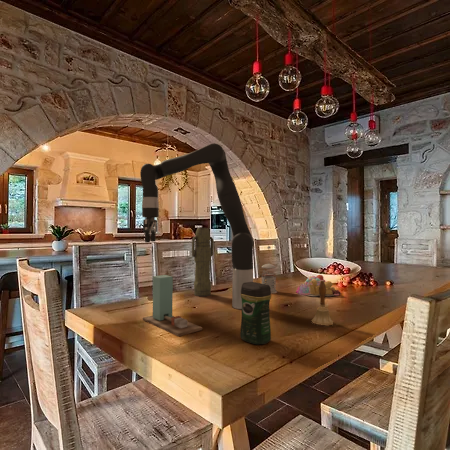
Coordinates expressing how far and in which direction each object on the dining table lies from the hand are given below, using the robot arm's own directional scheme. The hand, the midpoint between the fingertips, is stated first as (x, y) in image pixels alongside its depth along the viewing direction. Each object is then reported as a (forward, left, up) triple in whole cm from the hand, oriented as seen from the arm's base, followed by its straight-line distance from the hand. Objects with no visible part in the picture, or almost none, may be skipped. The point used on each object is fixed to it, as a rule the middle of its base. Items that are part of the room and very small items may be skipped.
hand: (150, 241), depth 152 cm
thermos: (-20, -22, -29) cm, 41 cm away
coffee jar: (-54, +38, -29) cm, 72 cm away
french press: (-53, -37, -29) cm, 70 cm away
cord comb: (-22, +29, -29) cm, 46 cm away
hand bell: (-77, +14, -29) cm, 83 cm away
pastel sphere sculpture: (-79, -42, -29) cm, 94 cm away
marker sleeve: (-17, +26, -27) cm, 41 cm away
